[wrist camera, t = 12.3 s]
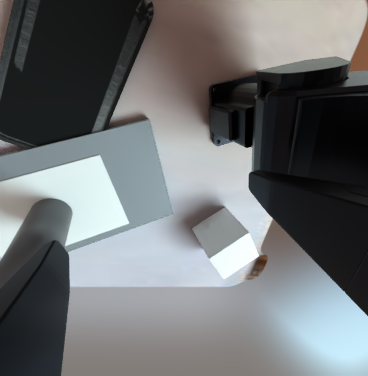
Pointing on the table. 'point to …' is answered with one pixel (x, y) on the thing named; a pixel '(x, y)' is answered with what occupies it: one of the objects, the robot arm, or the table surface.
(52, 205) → the grey cylinder
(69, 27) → the phone
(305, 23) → the table surface
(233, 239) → the white cube
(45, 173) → the writing board
